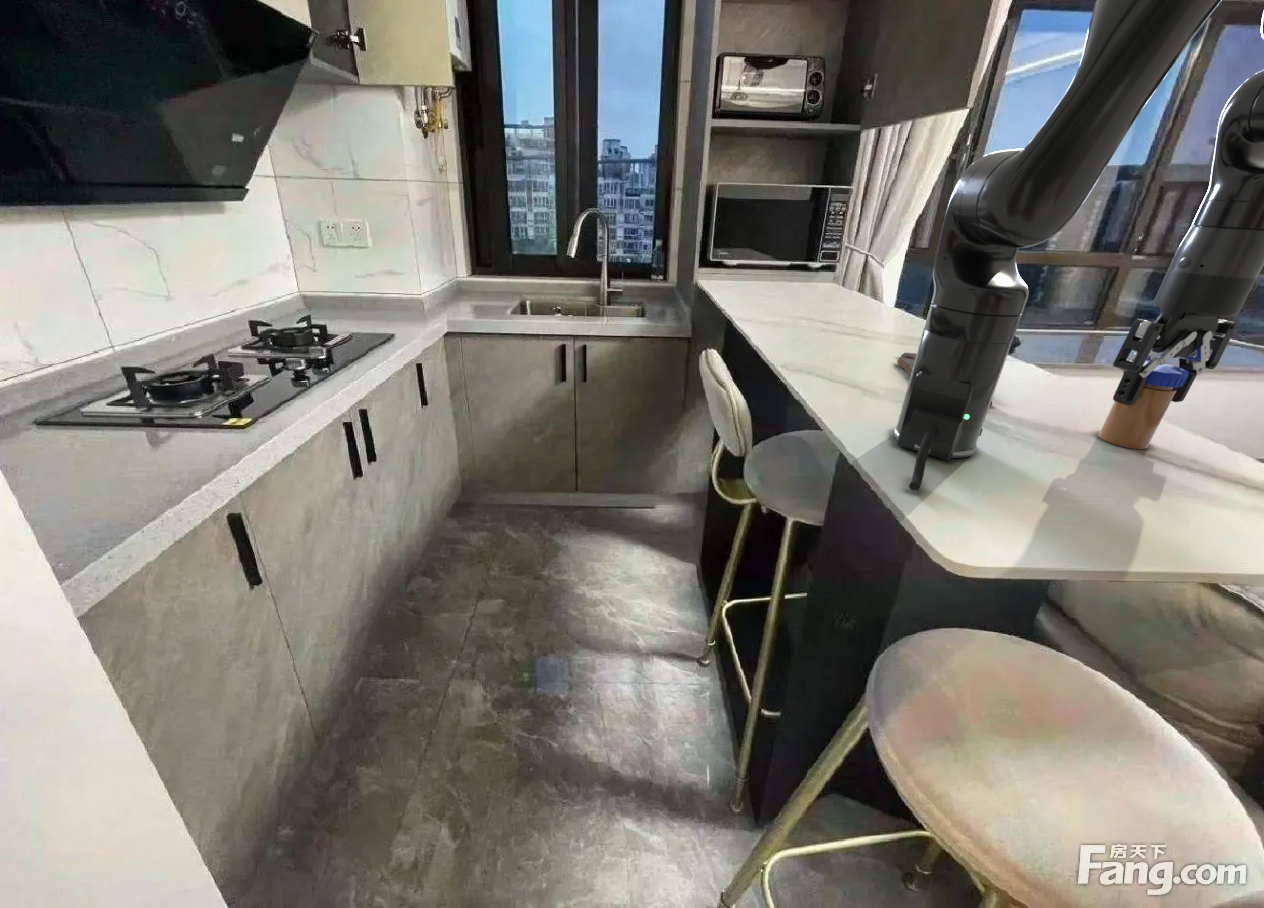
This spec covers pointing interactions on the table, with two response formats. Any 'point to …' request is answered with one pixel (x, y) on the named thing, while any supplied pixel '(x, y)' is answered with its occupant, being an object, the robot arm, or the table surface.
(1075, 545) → the table surface
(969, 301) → the robot arm
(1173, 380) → the lid
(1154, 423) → the jar
